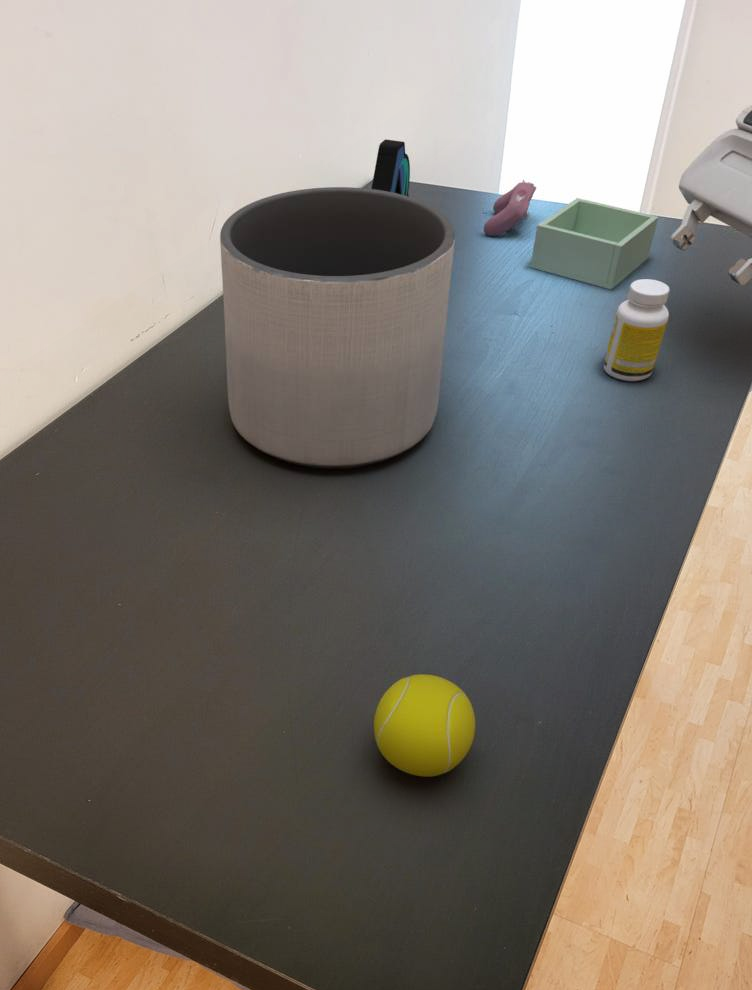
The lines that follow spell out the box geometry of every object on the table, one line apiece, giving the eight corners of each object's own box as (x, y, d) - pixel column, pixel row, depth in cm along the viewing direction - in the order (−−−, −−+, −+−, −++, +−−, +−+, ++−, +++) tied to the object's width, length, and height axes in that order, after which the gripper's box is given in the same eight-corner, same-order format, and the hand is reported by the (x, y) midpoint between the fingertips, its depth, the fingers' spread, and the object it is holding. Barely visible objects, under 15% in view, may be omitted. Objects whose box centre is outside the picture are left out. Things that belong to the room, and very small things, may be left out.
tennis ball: (358, 776, 67) (362, 713, 62) (389, 708, 72) (396, 643, 67) (453, 808, 65) (465, 745, 60) (479, 735, 69) (492, 671, 64)
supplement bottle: (661, 378, 105) (687, 293, 98) (618, 386, 104) (641, 301, 97) (635, 355, 109) (658, 272, 102) (593, 363, 108) (613, 280, 101)
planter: (254, 359, 110) (247, 179, 96) (443, 374, 106) (464, 190, 92) (207, 466, 95) (190, 271, 81) (426, 488, 91) (448, 289, 77)
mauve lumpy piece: (506, 250, 134) (536, 207, 128) (479, 232, 133) (508, 188, 128) (516, 224, 140) (545, 182, 135) (491, 207, 140) (519, 164, 134)
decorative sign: (368, 289, 122) (375, 167, 112) (351, 286, 123) (355, 165, 113) (416, 235, 134) (426, 120, 124) (400, 232, 135) (408, 118, 125)
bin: (647, 258, 127) (658, 216, 123) (611, 289, 121) (621, 246, 117) (568, 238, 132) (577, 197, 128) (529, 267, 126) (537, 225, 122)
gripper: (902, 205, 90) (783, 319, 95) (754, 141, 104) (657, 244, 109) (887, 162, 86) (763, 284, 91) (735, 102, 100) (634, 210, 104)
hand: (704, 261), depth 100 cm, fingers open, 8 cm apart
